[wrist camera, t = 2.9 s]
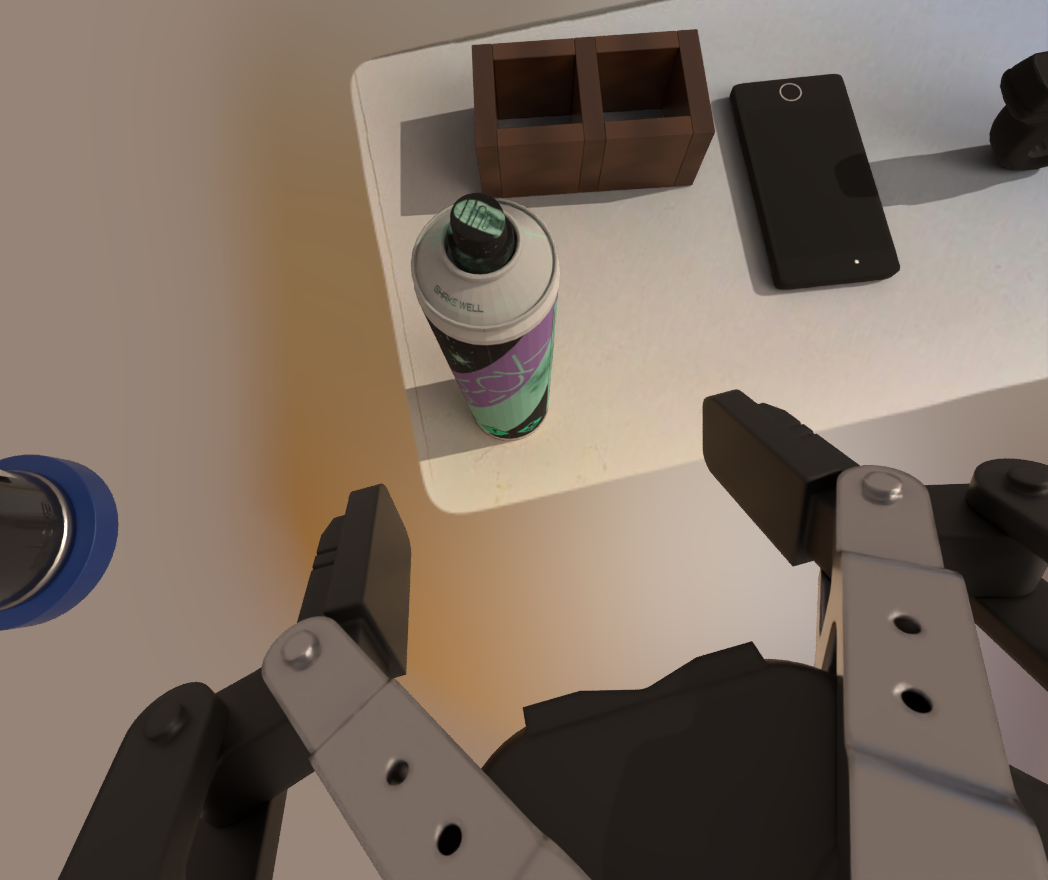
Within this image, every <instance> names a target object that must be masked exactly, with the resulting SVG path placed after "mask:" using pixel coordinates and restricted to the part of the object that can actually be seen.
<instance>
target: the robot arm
mask: <svg viewBox="0 0 1048 880" xmlns="http://www.w3.org/2000/svg"><path fill="white" fill-rule="evenodd" d="M703 455H704V459H705V462H706V464H707V467H708V469H709V470H710V472H711V473H712V474H713V475H714V477H715V478H716V479H717V480H718V481H719V482H720V484H721V485H722V486H723V487H724V488H725V489H726V490H727V492H728V493H729V494H730V495H731V496H732V497H733V498H734V499H735V501H736V502H737V503H738V504H739V505H740V507H741V508H742V509H743V510H744V511H745V512H746V513H747V515H748V516H749V517H750V518H751V519H752V520H753V521H754V523H756V525H757V526H758V527H759V528H760V529H761V531H762V532H763V533H764V534H765V535H766V536H767V537H768V539H769V540H770V541H771V542H772V543H773V544H774V545H775V547H776V548H777V549H778V550H779V551H780V552H781V554H782V555H783V556H784V557H785V558H786V559H787V560H788V561H789V563H790V564H791V565H792V566H796V565H800V564H803V563H807V562H810V561H815V563H816V564H817V565H818V566H819V567H820V572H819V578H818V601H817V631H816V653H815V663H814V667H812V666H809V665H806V664H802V663H797V662H792V661H787V660H776V659H763V657H762V655H761V654H760V653H759V651H758V649H757V648H756V646H755V645H754V643H753V642H752V641H751V642H748V643H745V644H741V645H737V646H734V647H731V648H727V649H724V650H720V651H717V652H713V653H710V654H706V655H703V656H699V657H696V658H695V659H693V660H691V661H690V662H688V663H687V664H685V665H683V666H682V667H680V668H678V669H677V670H675V671H674V672H672V673H671V674H669V675H667V676H666V677H664V678H662V679H661V680H659V681H658V682H656V683H655V684H653V685H651V686H649V687H648V688H645V689H640V690H600V691H578V692H574V693H571V694H567V695H564V696H561V697H557V698H554V699H550V700H547V701H543V702H540V703H536V704H533V705H530V706H526V707H523V712H524V718H525V724H526V727H524V728H523V729H521V730H520V731H518V732H517V733H515V734H514V735H513V736H512V737H510V738H509V739H508V740H507V741H505V742H504V743H503V744H502V745H501V746H500V747H499V748H498V749H497V750H496V751H495V752H494V753H493V754H492V755H491V757H490V758H489V759H488V761H487V762H486V763H485V764H484V766H483V767H482V768H480V767H479V766H478V765H477V764H476V763H475V762H474V761H473V760H472V759H471V758H470V757H469V756H468V755H467V754H466V753H465V752H464V751H463V749H462V748H460V746H459V745H458V744H457V743H456V742H455V741H454V740H453V739H452V738H451V737H450V736H449V735H448V734H447V733H446V732H445V730H444V729H442V727H441V726H440V725H439V724H438V723H437V722H436V721H435V720H434V719H433V718H432V717H431V716H430V715H429V714H428V713H427V712H426V710H425V709H424V708H423V707H422V706H421V705H420V704H419V703H418V702H417V701H416V700H415V699H414V698H413V697H412V696H411V695H410V694H409V693H408V691H407V690H406V689H404V687H403V686H402V685H401V684H400V683H399V682H398V681H397V680H395V679H394V678H396V677H399V676H403V675H406V664H407V641H408V617H409V593H410V569H411V547H410V541H409V537H408V535H407V531H406V528H405V526H404V524H403V522H402V520H401V518H400V516H399V513H398V511H397V509H396V507H395V505H394V502H393V500H392V498H391V496H390V494H389V492H388V490H387V488H386V486H385V485H384V484H378V485H375V486H371V487H367V488H364V489H360V490H356V491H352V492H351V493H350V496H349V501H348V505H347V509H346V513H345V515H343V516H339V517H336V518H334V519H333V520H332V521H331V523H330V524H329V526H328V527H327V528H326V530H325V531H324V532H323V534H322V535H321V538H320V542H319V546H318V549H317V556H316V557H315V560H314V564H313V570H312V571H311V574H310V578H309V581H308V585H307V589H306V592H305V596H304V600H303V603H302V607H301V610H300V614H299V617H298V621H297V624H295V625H293V626H292V627H290V628H289V629H287V630H286V631H285V632H284V633H282V634H281V635H280V636H279V637H278V638H277V639H276V640H275V642H274V643H273V644H272V645H271V647H270V648H269V650H268V652H267V653H266V655H265V658H264V660H263V664H262V667H261V668H260V669H258V670H256V671H255V672H253V673H251V674H250V675H248V676H246V677H244V678H242V679H241V680H239V681H237V682H235V683H233V684H232V685H230V686H228V687H226V688H224V689H223V690H221V691H219V692H217V693H214V692H213V691H212V690H211V689H210V688H209V687H208V686H207V685H206V684H203V683H200V682H191V683H186V684H183V685H180V686H178V687H175V688H173V689H172V690H170V691H168V692H166V693H165V694H163V695H162V696H160V697H159V698H157V699H156V700H155V701H154V702H153V703H151V704H150V705H149V706H148V707H147V708H146V709H145V710H144V711H143V712H142V713H141V714H140V715H139V716H138V717H137V719H136V720H135V721H134V722H133V724H132V725H131V727H130V728H129V730H128V731H127V733H126V735H125V737H124V739H123V741H122V743H121V745H120V747H119V750H118V752H117V754H116V756H115V758H114V760H113V762H112V765H111V767H110V769H109V771H108V773H107V775H106V777H105V780H104V782H103V784H102V786H101V788H100V790H99V793H98V795H97V797H96V799H95V801H94V803H93V805H92V808H91V810H90V812H89V814H88V816H87V818H86V820H85V823H84V825H83V827H82V829H81V831H80V833H79V835H78V837H77V840H76V842H75V844H74V846H73V848H72V851H71V853H70V855H69V857H68V859H67V861H66V864H65V865H64V868H63V870H62V872H61V874H60V876H59V878H58V880H272V877H273V872H274V866H275V860H276V854H277V848H278V842H279V836H280V830H281V824H282V818H283V813H284V807H285V800H286V795H287V789H288V788H289V787H291V786H293V785H294V784H296V783H297V782H299V781H300V780H302V779H303V778H305V777H306V776H308V775H310V774H311V773H313V772H314V771H316V773H317V775H318V776H319V778H320V780H321V781H322V783H323V785H324V786H325V787H326V789H327V791H328V792H329V794H330V796H331V797H332V799H333V801H334V802H335V804H336V805H337V807H338V809H339V810H340V812H341V813H342V815H343V817H344V818H345V820H346V821H347V823H348V825H349V826H350V828H351V830H352V831H353V833H354V834H355V836H356V837H357V839H358V841H359V842H360V844H361V846H362V847H363V849H364V850H365V852H366V854H367V855H368V857H369V858H370V860H371V862H372V863H373V865H374V866H375V868H376V869H377V871H378V873H379V874H380V876H381V878H382V879H383V880H1048V784H1046V783H1044V782H1042V781H1040V780H1038V779H1036V778H1034V777H1032V776H1030V775H1028V774H1026V773H1025V772H1022V771H1021V770H1019V769H1017V768H1015V767H1013V766H1011V765H1009V764H1008V761H1007V756H1006V752H1005V748H1004V744H1003V740H1002V735H1001V731H1000V727H999V723H998V719H997V715H996V710H995V706H994V702H993V698H992V694H991V690H990V686H989V681H988V677H987V673H986V669H985V665H984V660H983V656H982V652H981V648H980V644H979V639H978V635H977V631H976V627H975V624H977V625H978V626H979V627H980V628H981V629H982V630H983V631H984V632H985V633H986V634H987V635H988V636H989V637H990V638H991V639H993V641H994V642H996V643H997V644H998V645H999V646H1000V647H1001V648H1002V649H1003V650H1004V651H1005V652H1006V653H1007V654H1008V655H1009V656H1010V657H1011V658H1013V659H1014V660H1015V661H1016V662H1017V663H1018V664H1019V665H1020V666H1021V667H1022V668H1023V669H1024V670H1025V671H1026V672H1027V673H1029V674H1030V675H1031V676H1032V677H1033V678H1034V679H1035V680H1036V681H1037V682H1038V683H1039V684H1040V685H1041V686H1042V687H1043V688H1044V689H1045V690H1047V691H1048V582H1046V581H1045V580H1044V579H1042V576H1043V574H1044V572H1045V570H1046V569H1047V567H1048V465H1045V464H1042V463H1038V462H1033V461H1028V460H1021V459H995V460H990V461H986V462H984V463H982V464H980V465H979V466H978V467H977V468H976V470H975V472H974V474H973V477H972V479H971V482H970V484H948V485H924V484H922V483H921V482H920V481H919V480H918V479H916V478H915V477H913V476H911V475H910V474H908V473H905V472H903V471H900V470H897V469H894V468H889V467H884V466H876V465H863V466H860V465H858V464H857V463H856V462H854V461H853V460H852V459H850V458H849V457H847V456H846V455H845V454H844V453H842V452H841V451H839V450H838V449H837V448H835V447H834V446H833V445H831V444H830V443H828V442H827V441H826V440H824V439H823V438H822V437H820V436H819V435H817V434H814V433H813V431H812V430H811V429H809V428H808V427H807V426H805V425H804V424H802V425H801V423H800V421H799V420H797V419H796V418H795V417H793V416H792V415H790V414H789V413H788V412H786V411H785V410H782V409H779V408H777V407H774V406H771V405H768V404H765V403H761V404H757V403H756V402H754V401H753V400H752V399H750V398H749V397H748V396H747V395H745V394H744V393H743V392H741V391H740V390H737V389H735V390H731V391H727V392H724V393H720V394H716V395H713V396H709V397H706V398H705V399H704V401H703ZM76 531H77V520H76V513H75V509H74V506H73V503H72V501H71V498H70V497H69V495H68V493H67V492H66V491H65V490H64V488H63V487H62V486H61V485H60V484H58V483H57V482H56V481H54V480H53V479H51V478H49V477H47V476H45V475H42V474H38V473H33V472H27V471H19V470H2V469H0V611H3V610H8V609H12V608H15V607H18V606H20V605H23V604H25V603H27V602H29V601H30V600H32V599H34V598H35V597H37V596H38V595H39V594H41V593H42V592H43V591H44V590H46V589H47V588H48V587H49V586H50V585H51V584H52V583H53V582H54V581H55V579H56V578H57V577H58V576H59V574H60V573H61V571H62V570H63V569H64V567H65V565H66V563H67V561H68V559H69V557H70V555H71V552H72V550H73V547H74V543H75V538H76Z"/></svg>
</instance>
